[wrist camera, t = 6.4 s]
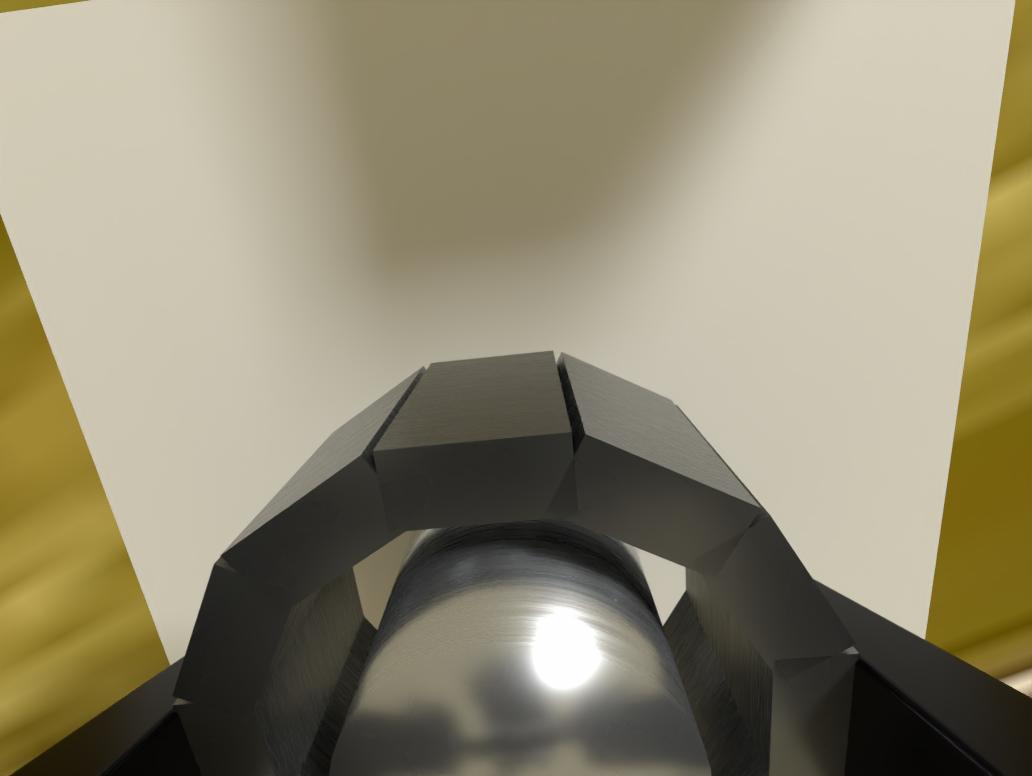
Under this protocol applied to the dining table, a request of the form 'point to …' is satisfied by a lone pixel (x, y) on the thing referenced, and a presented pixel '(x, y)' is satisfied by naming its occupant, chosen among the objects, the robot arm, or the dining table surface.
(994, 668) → the dining table surface
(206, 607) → the gunmetal ring
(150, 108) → the base plate
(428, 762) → the steel pin
